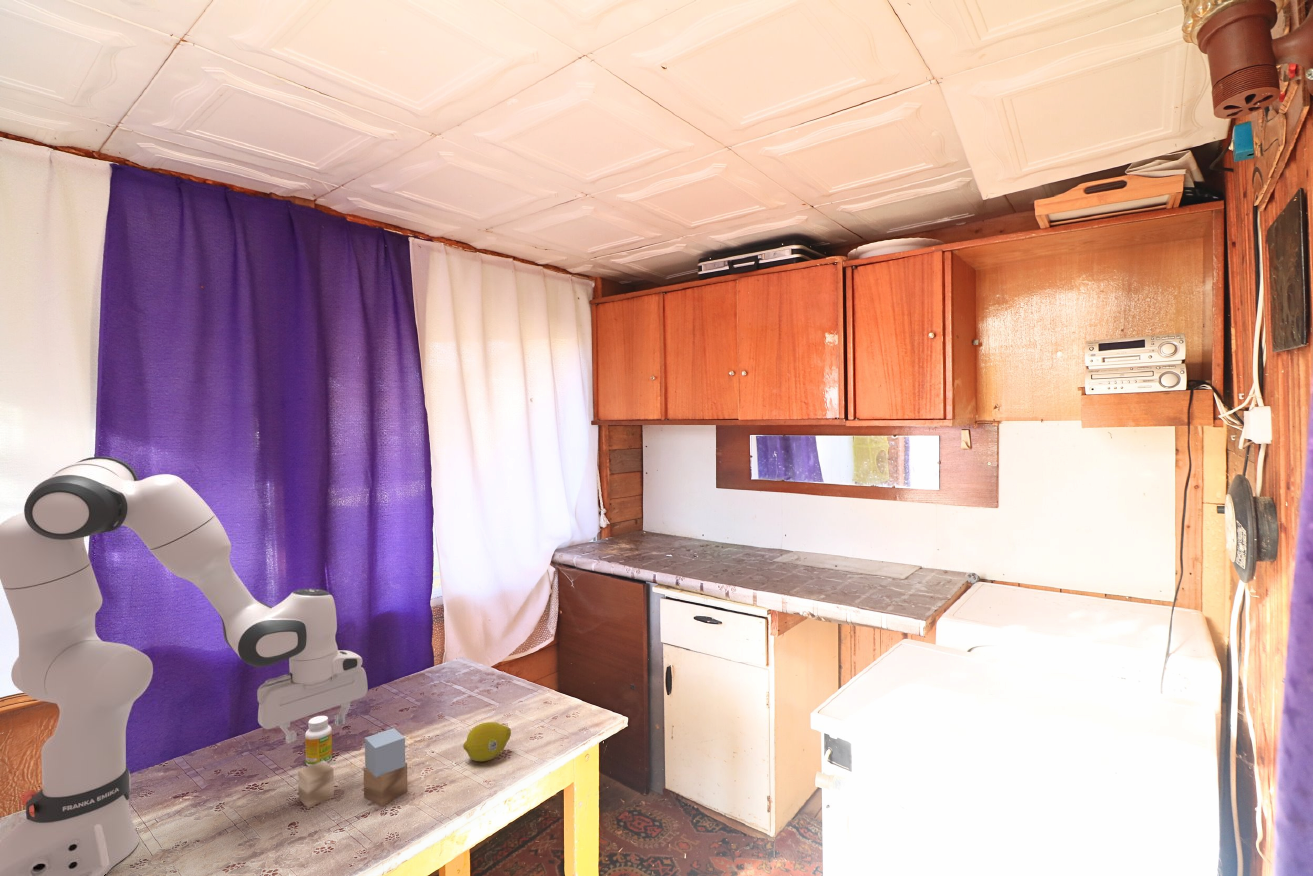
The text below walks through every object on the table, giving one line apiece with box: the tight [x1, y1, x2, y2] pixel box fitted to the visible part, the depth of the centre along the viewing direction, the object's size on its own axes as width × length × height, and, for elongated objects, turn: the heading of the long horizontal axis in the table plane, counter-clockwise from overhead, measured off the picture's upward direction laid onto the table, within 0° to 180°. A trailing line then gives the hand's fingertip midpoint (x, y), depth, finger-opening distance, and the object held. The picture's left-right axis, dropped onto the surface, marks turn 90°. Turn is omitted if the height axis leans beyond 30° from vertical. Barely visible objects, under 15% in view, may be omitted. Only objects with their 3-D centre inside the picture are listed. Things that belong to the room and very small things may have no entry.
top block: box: [364, 727, 406, 777], centre depth 129 cm, size 6×6×6 cm
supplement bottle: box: [304, 715, 333, 767], centre depth 143 cm, size 5×5×10 cm
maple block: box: [297, 761, 335, 809], centre depth 129 cm, size 5×5×6 cm
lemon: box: [462, 721, 512, 763], centre depth 144 cm, size 11×8×8 cm
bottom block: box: [363, 762, 409, 807], centre depth 130 cm, size 6×6×6 cm
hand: (316, 732), depth 129 cm, fingers open, 8 cm apart
